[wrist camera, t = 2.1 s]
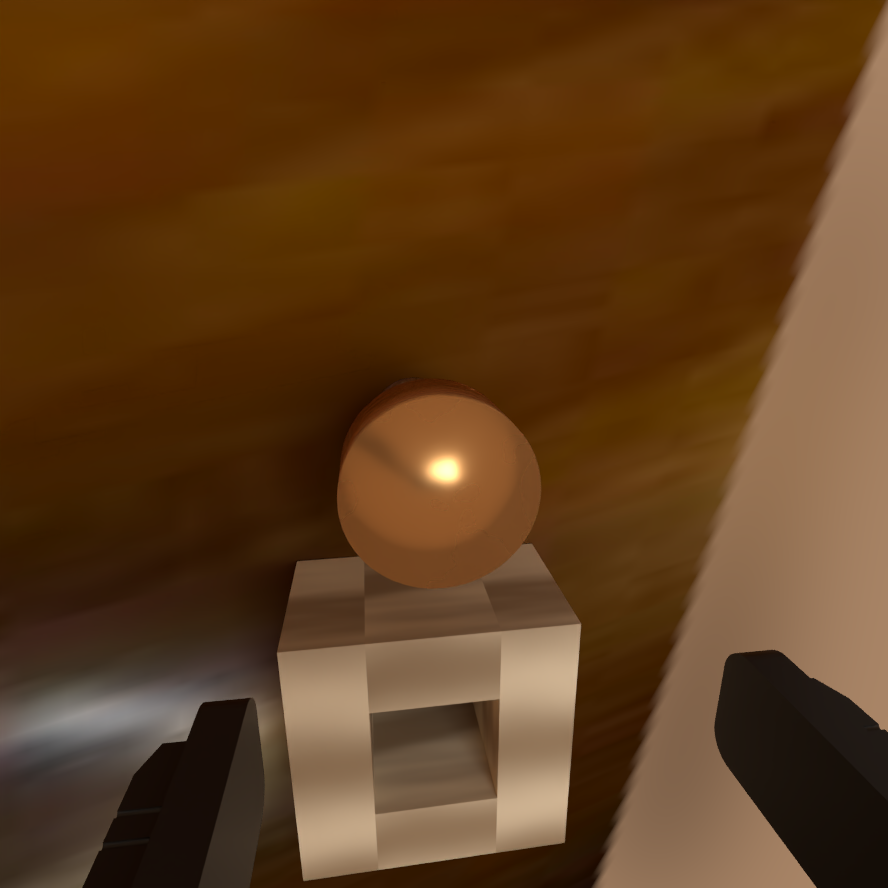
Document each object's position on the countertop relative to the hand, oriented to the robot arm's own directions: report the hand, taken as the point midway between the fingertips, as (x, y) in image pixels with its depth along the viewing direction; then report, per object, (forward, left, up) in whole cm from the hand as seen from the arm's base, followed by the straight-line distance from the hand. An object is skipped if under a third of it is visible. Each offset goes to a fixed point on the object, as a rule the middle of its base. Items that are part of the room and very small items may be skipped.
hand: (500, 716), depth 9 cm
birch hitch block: (+13, 0, -18) cm, 22 cm away
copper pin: (0, 0, -18) cm, 18 cm away
